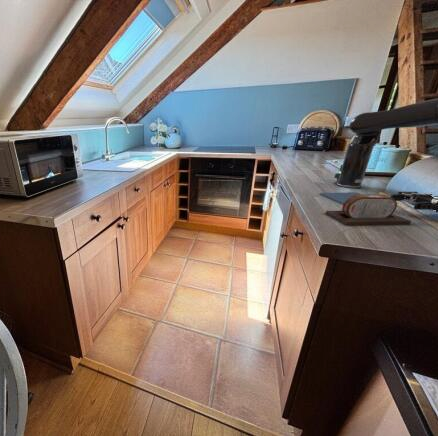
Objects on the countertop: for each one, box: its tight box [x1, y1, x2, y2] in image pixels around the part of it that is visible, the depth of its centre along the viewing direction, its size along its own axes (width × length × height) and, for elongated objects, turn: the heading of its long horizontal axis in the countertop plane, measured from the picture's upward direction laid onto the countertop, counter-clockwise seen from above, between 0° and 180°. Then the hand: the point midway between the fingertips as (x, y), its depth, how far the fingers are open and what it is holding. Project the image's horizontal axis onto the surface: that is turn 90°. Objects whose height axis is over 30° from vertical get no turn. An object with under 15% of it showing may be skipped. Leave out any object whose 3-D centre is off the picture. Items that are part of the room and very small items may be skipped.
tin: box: [341, 193, 398, 218], centre depth 80 cm, size 15×3×8 cm, turn 84°
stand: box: [325, 210, 412, 226], centre depth 82 cm, size 10×20×1 cm, turn 89°
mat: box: [320, 192, 361, 205], centre depth 101 cm, size 14×16×1 cm
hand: (402, 201), depth 79 cm, fingers open, 8 cm apart
